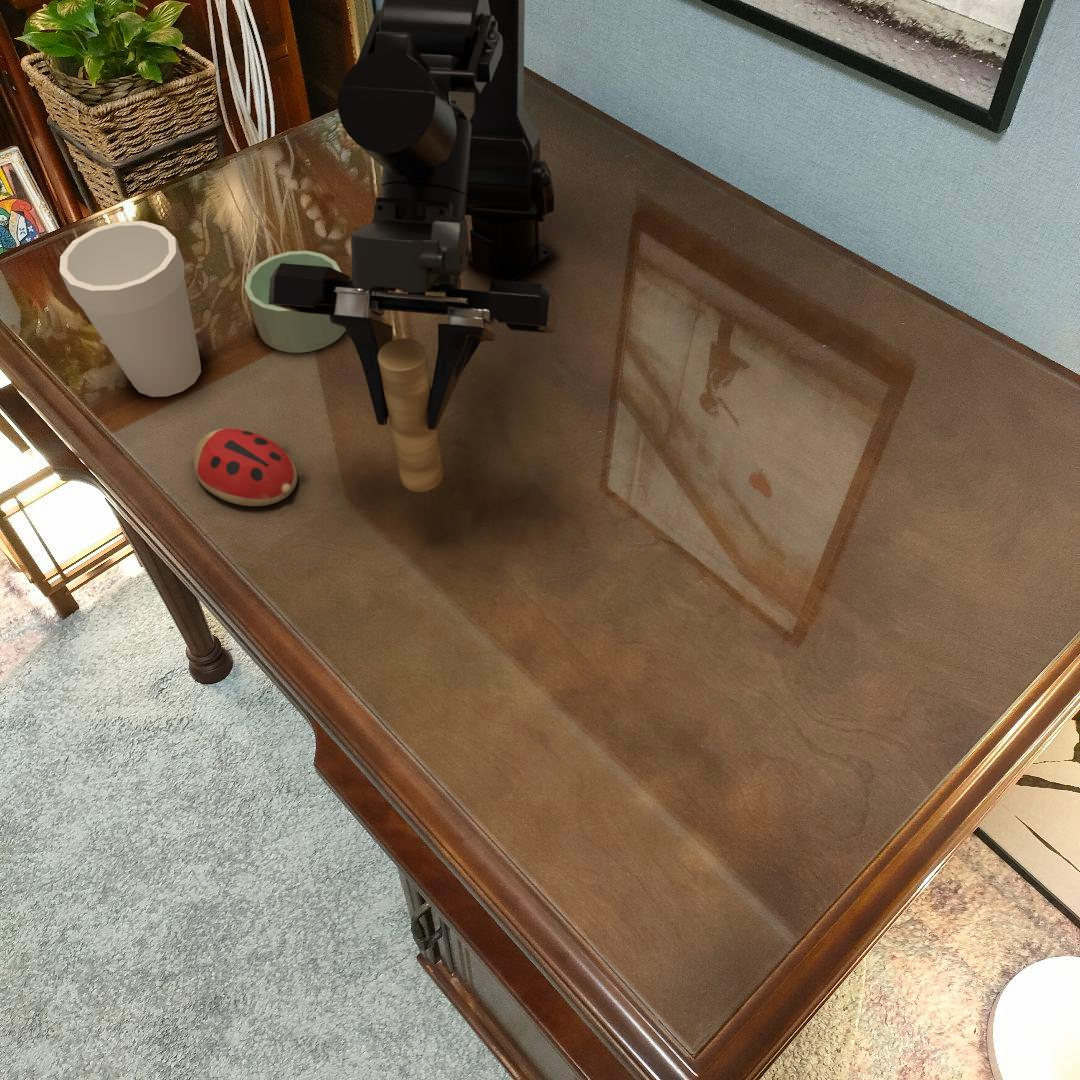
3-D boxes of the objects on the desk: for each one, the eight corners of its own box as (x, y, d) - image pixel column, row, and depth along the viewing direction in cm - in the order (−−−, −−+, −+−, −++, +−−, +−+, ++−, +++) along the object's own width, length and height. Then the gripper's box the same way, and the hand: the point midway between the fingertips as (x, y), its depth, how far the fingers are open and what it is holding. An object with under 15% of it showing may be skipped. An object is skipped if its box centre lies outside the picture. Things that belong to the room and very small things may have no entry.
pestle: (422, 453, 78) (403, 331, 68) (451, 474, 76) (436, 352, 67) (391, 477, 76) (367, 355, 67) (420, 499, 75) (400, 377, 65)
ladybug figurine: (229, 432, 89) (218, 402, 86) (320, 472, 86) (312, 443, 83) (177, 482, 85) (164, 453, 83) (270, 526, 82) (260, 497, 80)
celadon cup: (310, 281, 102) (300, 239, 98) (368, 319, 98) (360, 276, 94) (239, 325, 98) (225, 282, 94) (297, 366, 94) (286, 323, 90)
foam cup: (192, 415, 90) (145, 297, 80) (96, 402, 92) (38, 284, 81) (233, 345, 96) (194, 226, 86) (142, 333, 97) (93, 215, 87)
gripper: (241, 153, 61) (228, 414, 63) (549, 173, 59) (525, 442, 61) (304, 194, 72) (291, 415, 74) (566, 212, 70) (545, 439, 72)
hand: (406, 427), depth 70 cm, fingers closed on pestle, 3 cm apart
